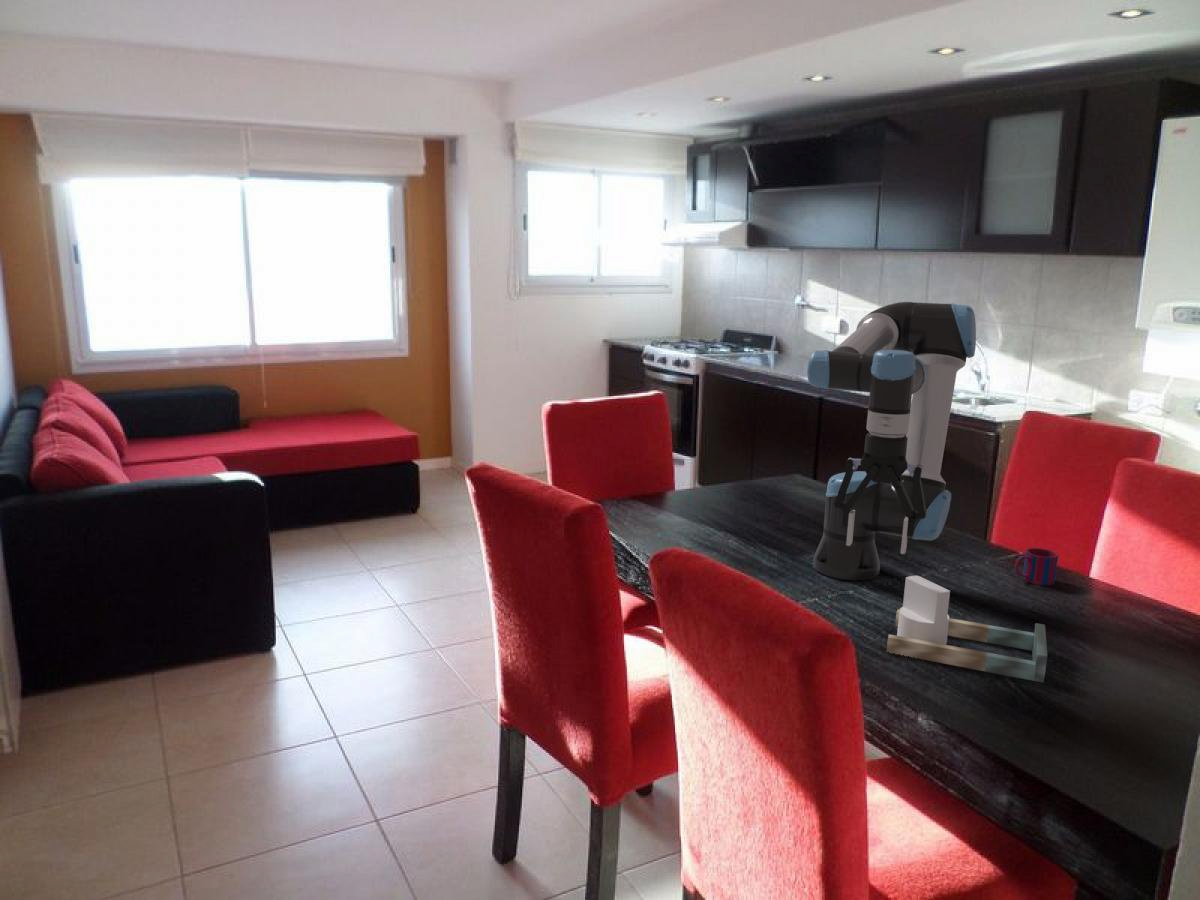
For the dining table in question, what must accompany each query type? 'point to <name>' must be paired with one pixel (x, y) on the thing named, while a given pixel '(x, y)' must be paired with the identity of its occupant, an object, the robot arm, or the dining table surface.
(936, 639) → the cylinder with rectangular tab
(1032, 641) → the bay
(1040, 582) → the mug
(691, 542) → the dining table surface
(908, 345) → the robot arm
